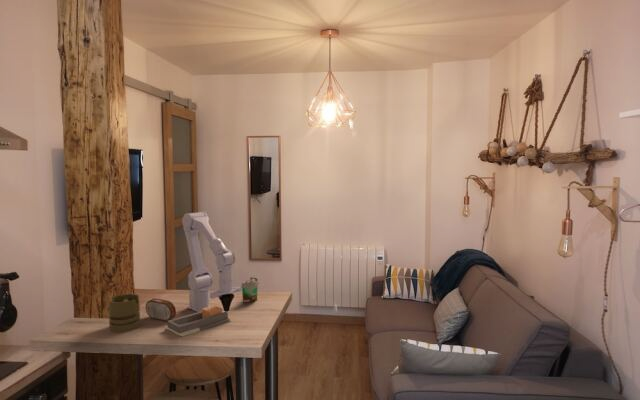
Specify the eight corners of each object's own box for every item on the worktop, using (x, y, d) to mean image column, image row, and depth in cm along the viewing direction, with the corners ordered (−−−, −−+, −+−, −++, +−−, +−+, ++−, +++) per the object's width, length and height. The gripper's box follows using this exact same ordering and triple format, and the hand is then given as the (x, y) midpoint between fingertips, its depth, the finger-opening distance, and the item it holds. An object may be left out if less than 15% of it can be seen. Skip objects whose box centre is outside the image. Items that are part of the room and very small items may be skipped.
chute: (166, 328, 170) (165, 320, 170) (213, 314, 186) (213, 306, 186) (181, 336, 162) (180, 327, 161) (229, 321, 178) (229, 313, 177)
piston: (141, 293, 178) (136, 301, 167) (142, 320, 179) (137, 331, 168) (112, 295, 175) (104, 303, 164) (113, 323, 176) (106, 333, 165)
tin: (176, 320, 179) (176, 301, 178) (171, 323, 176) (170, 303, 175) (150, 315, 185) (149, 296, 185) (144, 317, 182) (143, 298, 182)
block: (202, 318, 178) (201, 308, 178) (214, 314, 183) (214, 305, 182) (209, 321, 174) (209, 312, 174) (222, 317, 178) (222, 308, 178)
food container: (254, 305, 198) (253, 284, 197) (241, 304, 199) (241, 283, 199) (262, 297, 210) (262, 277, 209) (251, 296, 211) (250, 276, 211)
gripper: (216, 285, 174) (217, 317, 175) (245, 278, 185) (245, 308, 186) (207, 282, 179) (207, 313, 180) (235, 275, 190) (236, 305, 191)
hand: (226, 310), depth 183 cm, fingers closed
